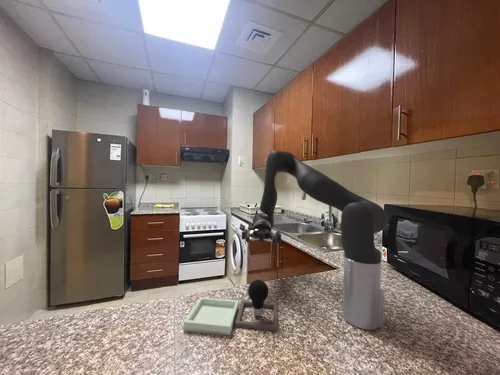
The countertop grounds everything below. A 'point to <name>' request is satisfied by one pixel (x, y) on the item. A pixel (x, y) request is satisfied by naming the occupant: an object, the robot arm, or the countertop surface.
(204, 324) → the parts tray
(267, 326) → the brown square frame
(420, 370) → the countertop surface
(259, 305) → the light bulb
